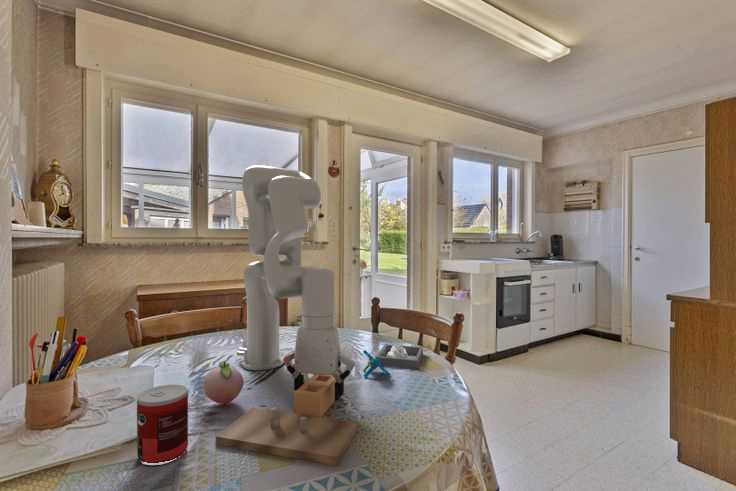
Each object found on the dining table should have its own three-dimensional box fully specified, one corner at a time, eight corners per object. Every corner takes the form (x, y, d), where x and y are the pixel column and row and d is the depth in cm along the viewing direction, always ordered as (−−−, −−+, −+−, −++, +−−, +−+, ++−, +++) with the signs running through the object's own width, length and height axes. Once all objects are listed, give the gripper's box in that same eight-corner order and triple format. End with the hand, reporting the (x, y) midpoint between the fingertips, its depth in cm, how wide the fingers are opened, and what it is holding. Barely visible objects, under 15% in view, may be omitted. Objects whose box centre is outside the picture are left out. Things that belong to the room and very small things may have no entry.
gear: (396, 376, 96) (369, 350, 95) (381, 394, 95) (354, 368, 94) (386, 367, 107) (362, 344, 106) (373, 383, 105) (348, 360, 105)
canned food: (151, 442, 67) (150, 384, 67) (195, 441, 68) (194, 383, 68) (127, 468, 60) (126, 403, 59) (177, 466, 60) (176, 401, 60)
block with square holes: (319, 418, 76) (319, 395, 76) (294, 415, 78) (294, 392, 78) (338, 395, 88) (338, 375, 88) (316, 392, 90) (316, 372, 89)
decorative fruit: (199, 402, 84) (199, 360, 84) (234, 393, 89) (234, 353, 89) (209, 418, 76) (209, 372, 76) (247, 407, 81) (247, 363, 81)
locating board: (215, 444, 67) (215, 417, 67) (252, 414, 78) (252, 391, 78) (337, 465, 61) (337, 436, 60) (357, 429, 72) (357, 404, 72)
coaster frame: (375, 365, 109) (375, 356, 109) (385, 351, 123) (385, 344, 123) (417, 369, 106) (417, 360, 106) (423, 354, 119) (423, 347, 119)
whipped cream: (394, 357, 120) (393, 342, 120) (412, 359, 116) (412, 343, 117) (382, 362, 113) (382, 347, 113) (402, 364, 109) (401, 348, 110)
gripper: (276, 323, 81) (276, 399, 81) (348, 327, 77) (349, 407, 77) (291, 317, 88) (292, 386, 88) (358, 320, 84) (359, 393, 84)
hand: (318, 396), depth 83 cm, fingers open, 9 cm apart
